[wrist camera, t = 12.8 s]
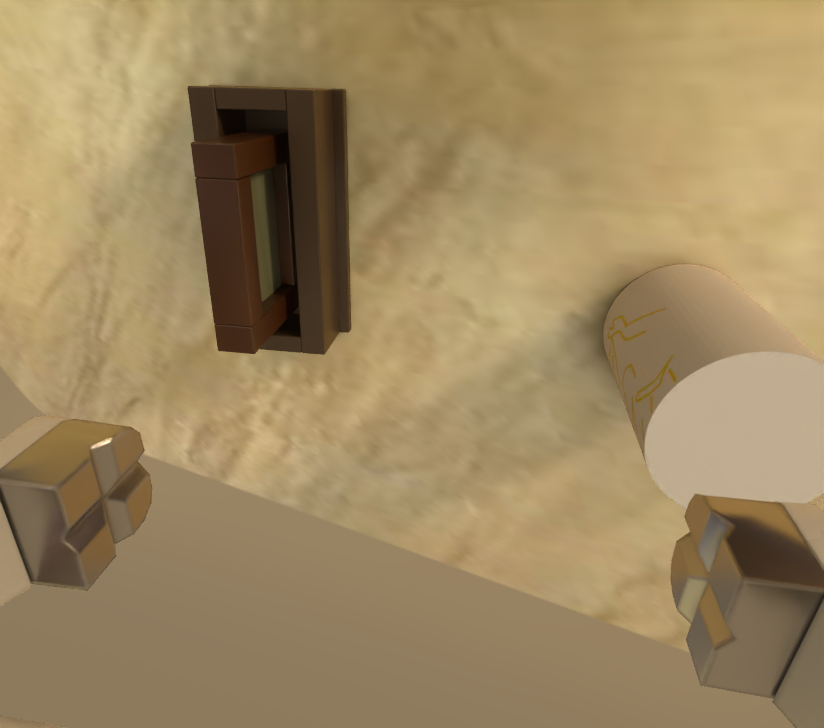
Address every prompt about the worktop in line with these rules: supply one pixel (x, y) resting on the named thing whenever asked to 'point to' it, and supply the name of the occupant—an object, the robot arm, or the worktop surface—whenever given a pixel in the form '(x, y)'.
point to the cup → (716, 389)
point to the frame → (247, 234)
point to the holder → (299, 195)
